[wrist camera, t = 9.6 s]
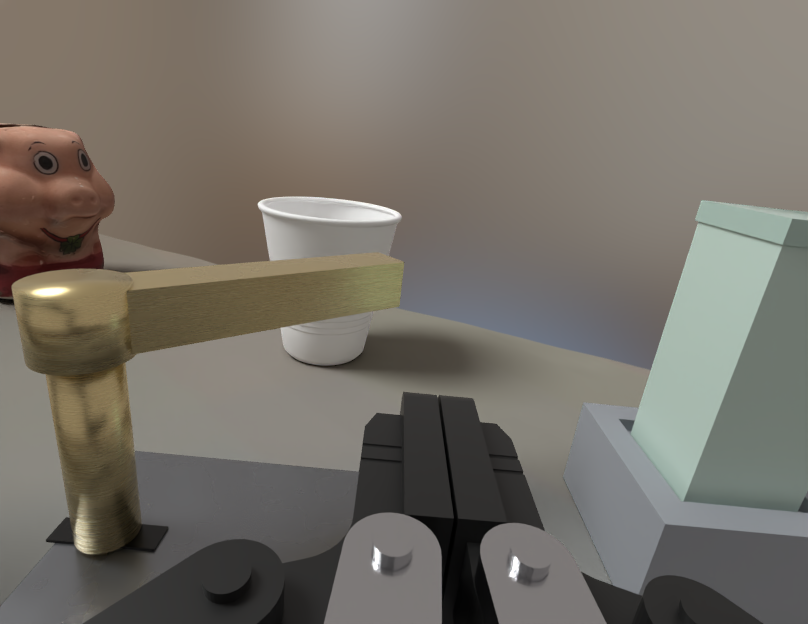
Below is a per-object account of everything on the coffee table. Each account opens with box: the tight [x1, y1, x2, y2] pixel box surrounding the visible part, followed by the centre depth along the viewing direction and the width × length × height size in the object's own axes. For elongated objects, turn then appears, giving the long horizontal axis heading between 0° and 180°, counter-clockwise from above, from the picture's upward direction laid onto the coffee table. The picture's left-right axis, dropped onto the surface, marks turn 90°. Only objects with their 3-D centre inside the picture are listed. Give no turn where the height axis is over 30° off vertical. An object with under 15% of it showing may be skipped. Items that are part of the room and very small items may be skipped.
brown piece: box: [12, 252, 404, 554], centre depth 18 cm, size 13×3×9 cm, turn 131°
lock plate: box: [0, 451, 359, 624], centre depth 17 cm, size 13×9×2 cm
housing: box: [563, 403, 808, 624], centre depth 21 cm, size 8×8×5 cm
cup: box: [258, 197, 402, 366], centre depth 35 cm, size 10×10×11 cm
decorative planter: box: [0, 124, 115, 299], centre depth 41 cm, size 20×12×14 cm, turn 73°
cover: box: [630, 200, 808, 512], centre depth 18 cm, size 5×5×11 cm
